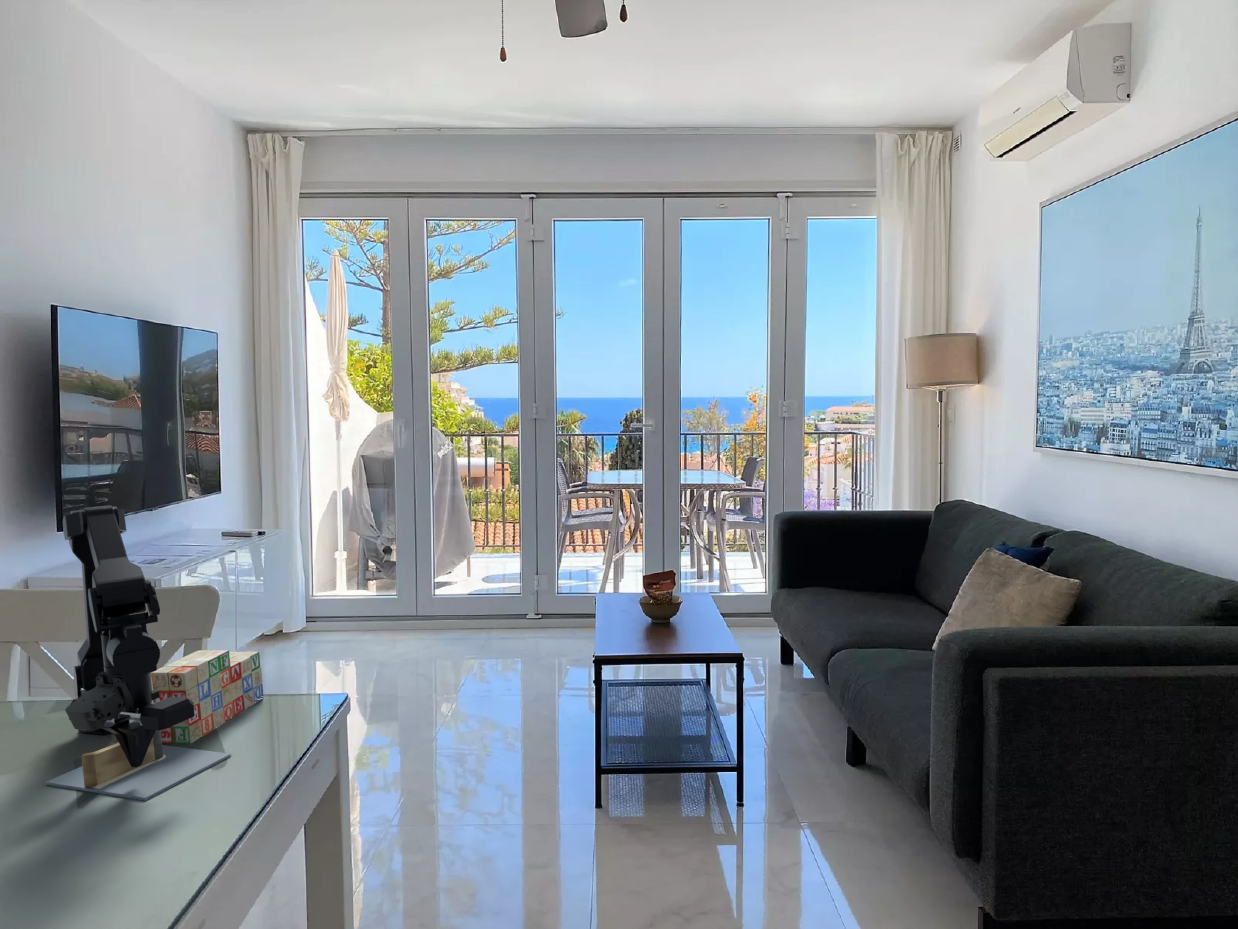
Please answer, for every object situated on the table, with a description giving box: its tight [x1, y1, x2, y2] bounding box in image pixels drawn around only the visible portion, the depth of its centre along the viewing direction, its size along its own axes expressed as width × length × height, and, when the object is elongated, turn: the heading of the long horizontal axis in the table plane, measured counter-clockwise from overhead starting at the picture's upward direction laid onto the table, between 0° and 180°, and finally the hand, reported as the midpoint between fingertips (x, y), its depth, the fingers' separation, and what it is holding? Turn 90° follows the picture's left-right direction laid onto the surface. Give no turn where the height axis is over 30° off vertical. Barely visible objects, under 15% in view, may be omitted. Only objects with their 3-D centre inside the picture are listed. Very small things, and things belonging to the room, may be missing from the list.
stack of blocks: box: [150, 649, 265, 745], centre depth 152 cm, size 21×6×12 cm, turn 171°
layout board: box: [45, 744, 232, 802], centre depth 132 cm, size 20×16×1 cm
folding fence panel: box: [81, 730, 163, 788], centre depth 130 cm, size 12×2×5 cm, turn 154°
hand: (136, 766), depth 126 cm, fingers closed
